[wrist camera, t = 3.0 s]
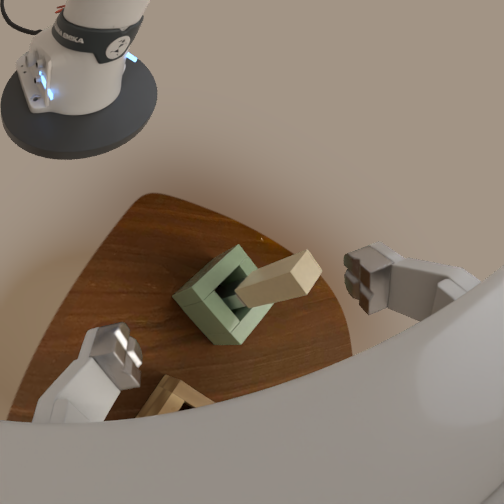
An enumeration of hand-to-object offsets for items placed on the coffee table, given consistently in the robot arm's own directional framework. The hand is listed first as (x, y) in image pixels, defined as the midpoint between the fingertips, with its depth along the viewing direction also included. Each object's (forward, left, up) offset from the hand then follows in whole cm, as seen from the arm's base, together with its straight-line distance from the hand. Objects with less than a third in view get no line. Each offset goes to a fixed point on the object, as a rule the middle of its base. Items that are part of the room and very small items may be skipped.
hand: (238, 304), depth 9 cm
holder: (+6, +10, -23) cm, 26 cm away
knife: (+6, +10, -23) cm, 26 cm away
